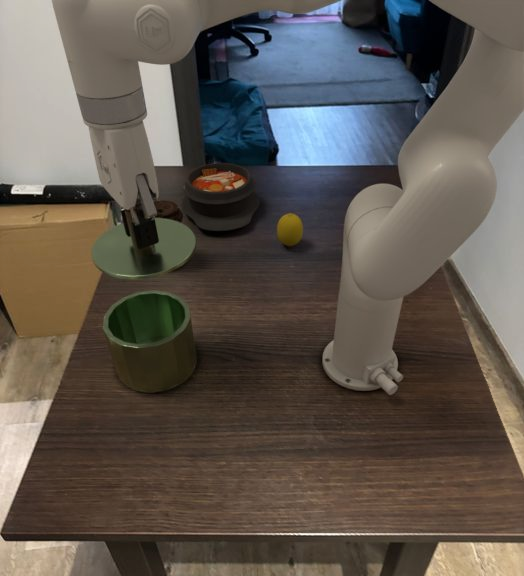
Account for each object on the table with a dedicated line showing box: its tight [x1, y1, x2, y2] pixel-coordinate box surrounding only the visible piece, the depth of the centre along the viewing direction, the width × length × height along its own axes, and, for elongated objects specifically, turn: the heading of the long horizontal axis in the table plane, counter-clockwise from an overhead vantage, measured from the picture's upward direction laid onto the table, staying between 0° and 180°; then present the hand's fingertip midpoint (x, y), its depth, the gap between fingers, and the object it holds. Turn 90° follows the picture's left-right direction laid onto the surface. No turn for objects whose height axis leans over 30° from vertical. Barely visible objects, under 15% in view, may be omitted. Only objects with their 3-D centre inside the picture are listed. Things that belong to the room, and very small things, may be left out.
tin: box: [102, 289, 198, 394], centre depth 87 cm, size 14×14×10 cm
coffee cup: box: [153, 199, 184, 223], centre depth 107 cm, size 9×8×13 cm
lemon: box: [276, 212, 304, 248], centre depth 112 cm, size 6×6×8 cm
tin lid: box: [90, 205, 197, 280], centre depth 73 cm, size 15×15×7 cm
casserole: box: [181, 162, 260, 232], centre depth 124 cm, size 25×19×8 cm
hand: (142, 238), depth 74 cm, fingers closed on tin lid, 3 cm apart
